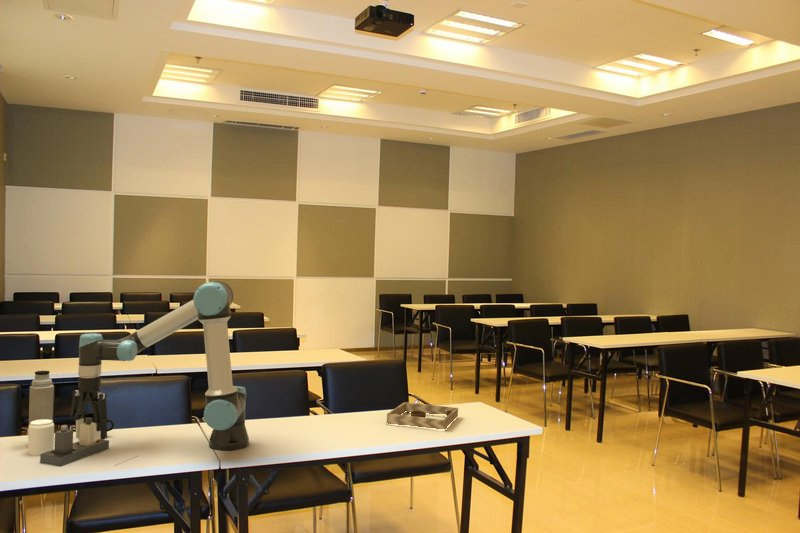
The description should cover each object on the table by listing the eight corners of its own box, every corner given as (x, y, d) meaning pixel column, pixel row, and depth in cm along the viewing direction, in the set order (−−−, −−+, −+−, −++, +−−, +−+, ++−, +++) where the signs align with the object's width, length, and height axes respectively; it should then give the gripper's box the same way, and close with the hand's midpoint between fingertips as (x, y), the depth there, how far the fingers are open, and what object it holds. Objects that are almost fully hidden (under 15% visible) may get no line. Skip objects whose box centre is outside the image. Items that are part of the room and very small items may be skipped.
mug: (111, 440, 251) (112, 417, 251) (78, 441, 248) (78, 418, 248) (115, 433, 260) (116, 411, 260) (83, 434, 257) (84, 412, 257)
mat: (138, 456, 232) (138, 455, 232) (114, 466, 221) (114, 465, 221) (112, 452, 236) (112, 451, 236) (87, 462, 224) (87, 461, 224)
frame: (457, 418, 305) (458, 407, 305) (444, 431, 280) (444, 420, 280) (403, 412, 313) (404, 402, 313) (386, 424, 288) (387, 413, 288)
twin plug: (72, 458, 224) (73, 424, 224) (63, 462, 221) (64, 427, 220) (63, 457, 226) (64, 423, 225) (54, 460, 222) (55, 426, 222)
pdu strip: (89, 448, 240) (89, 435, 240) (108, 451, 237) (109, 438, 237) (40, 465, 219) (40, 452, 219) (60, 469, 216) (60, 455, 216)
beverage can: (34, 451, 234) (35, 418, 234) (57, 451, 235) (58, 419, 235) (23, 458, 226) (24, 424, 226) (47, 458, 227) (48, 424, 227)
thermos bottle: (41, 440, 247) (43, 368, 247) (57, 443, 245) (59, 370, 244) (23, 445, 240) (25, 371, 239) (39, 448, 237) (41, 373, 237)
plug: (96, 450, 235) (97, 417, 235) (87, 453, 231) (88, 420, 231) (87, 448, 236) (88, 416, 236) (79, 451, 232) (80, 419, 232)
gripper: (119, 376, 234) (117, 438, 234) (76, 371, 240) (74, 432, 240) (104, 380, 226) (102, 444, 227) (59, 375, 233) (58, 437, 233)
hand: (88, 438), depth 233 cm, fingers open, 7 cm apart
